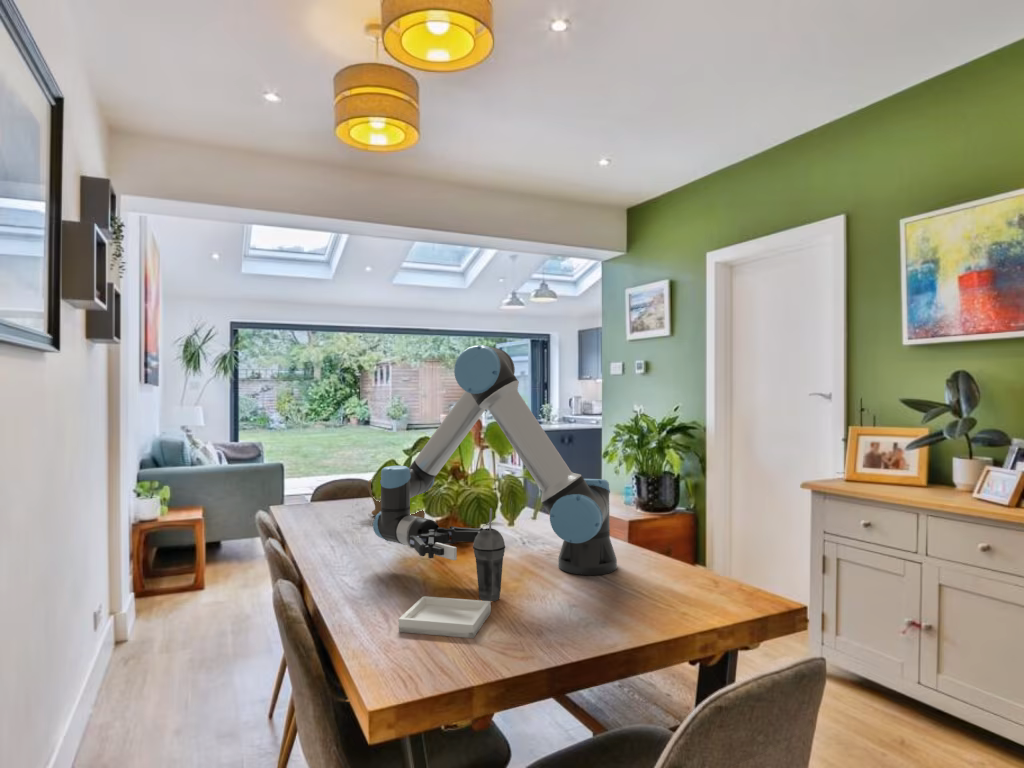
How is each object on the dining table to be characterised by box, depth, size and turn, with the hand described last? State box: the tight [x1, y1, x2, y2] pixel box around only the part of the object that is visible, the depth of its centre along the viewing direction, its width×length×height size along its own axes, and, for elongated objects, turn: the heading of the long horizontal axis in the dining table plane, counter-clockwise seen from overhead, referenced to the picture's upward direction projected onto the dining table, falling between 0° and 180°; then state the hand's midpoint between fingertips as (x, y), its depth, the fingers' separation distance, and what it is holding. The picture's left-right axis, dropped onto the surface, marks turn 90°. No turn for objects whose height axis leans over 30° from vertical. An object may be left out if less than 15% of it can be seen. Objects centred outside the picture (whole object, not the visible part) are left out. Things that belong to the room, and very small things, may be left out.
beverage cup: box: [472, 507, 506, 602], centre depth 137 cm, size 7×7×20 cm
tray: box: [398, 595, 492, 639], centre depth 124 cm, size 15×13×2 cm
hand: (478, 547), depth 139 cm, fingers open, 13 cm apart
